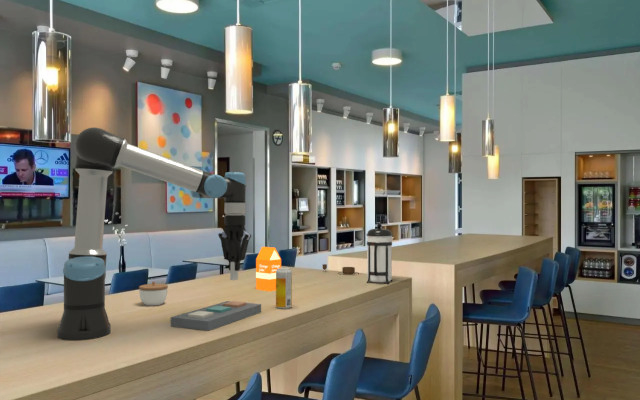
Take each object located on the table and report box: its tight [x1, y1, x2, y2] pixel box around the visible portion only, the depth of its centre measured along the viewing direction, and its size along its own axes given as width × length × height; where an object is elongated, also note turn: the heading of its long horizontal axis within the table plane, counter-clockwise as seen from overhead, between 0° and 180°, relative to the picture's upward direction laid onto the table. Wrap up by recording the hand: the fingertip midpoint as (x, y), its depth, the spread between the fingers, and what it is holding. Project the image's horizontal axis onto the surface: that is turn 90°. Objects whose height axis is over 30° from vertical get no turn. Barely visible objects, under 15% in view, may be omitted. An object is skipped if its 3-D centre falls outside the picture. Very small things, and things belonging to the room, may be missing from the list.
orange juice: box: [255, 246, 282, 292], centre depth 250 cm, size 8×9×20 cm
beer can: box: [275, 267, 293, 310], centre depth 209 cm, size 6×6×15 cm
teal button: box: [206, 306, 231, 313], centre depth 189 cm, size 6×6×3 cm
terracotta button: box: [223, 300, 247, 308], centre depth 198 cm, size 6×6×3 cm
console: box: [170, 300, 262, 332], centre depth 189 cm, size 32×15×3 cm, turn 155°
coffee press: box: [366, 223, 393, 285], centre depth 270 cm, size 17×16×30 cm
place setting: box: [322, 263, 358, 276], centre depth 307 cm, size 18×20×6 cm
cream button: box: [188, 311, 214, 318], centre depth 180 cm, size 6×6×3 cm
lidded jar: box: [138, 281, 169, 307], centre depth 214 cm, size 11×11×9 cm
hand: (234, 279), depth 198 cm, fingers closed
